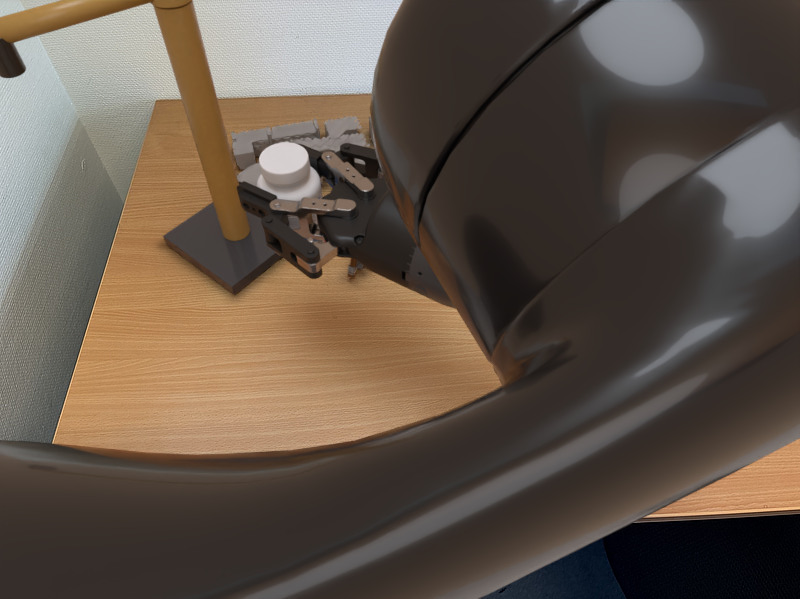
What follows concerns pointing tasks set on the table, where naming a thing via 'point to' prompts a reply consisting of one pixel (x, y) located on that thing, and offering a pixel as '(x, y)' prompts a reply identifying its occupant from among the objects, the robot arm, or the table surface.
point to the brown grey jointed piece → (354, 267)
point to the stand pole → (203, 114)
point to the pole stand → (222, 249)
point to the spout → (57, 24)
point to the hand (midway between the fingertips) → (264, 172)
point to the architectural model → (294, 141)
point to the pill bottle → (289, 174)
